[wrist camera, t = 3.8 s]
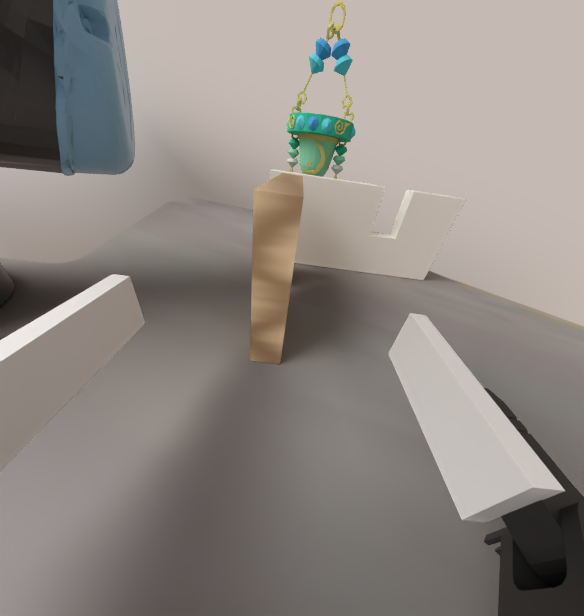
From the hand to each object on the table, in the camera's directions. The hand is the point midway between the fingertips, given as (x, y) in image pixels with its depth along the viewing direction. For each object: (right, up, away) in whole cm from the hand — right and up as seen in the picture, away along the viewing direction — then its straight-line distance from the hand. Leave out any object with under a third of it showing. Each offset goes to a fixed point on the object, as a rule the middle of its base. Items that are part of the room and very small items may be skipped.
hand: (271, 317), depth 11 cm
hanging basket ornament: (+3, +13, +32) cm, 35 cm away
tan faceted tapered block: (-1, +1, +14) cm, 14 cm away
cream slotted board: (+10, +7, +25) cm, 28 cm away
